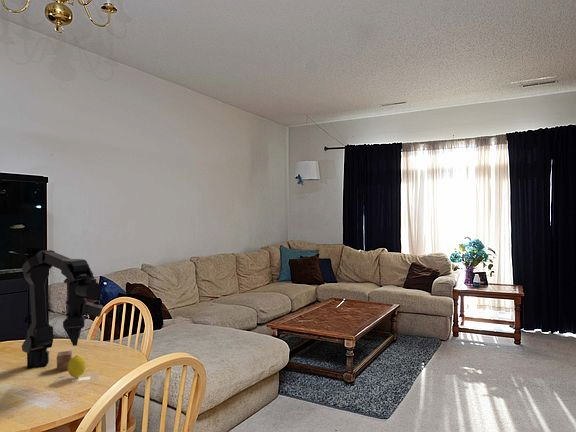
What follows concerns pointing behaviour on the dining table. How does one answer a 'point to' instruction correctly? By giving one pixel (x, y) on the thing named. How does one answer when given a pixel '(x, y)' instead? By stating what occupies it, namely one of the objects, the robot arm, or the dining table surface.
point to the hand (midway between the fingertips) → (76, 341)
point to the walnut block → (63, 360)
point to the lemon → (76, 366)
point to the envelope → (76, 379)
